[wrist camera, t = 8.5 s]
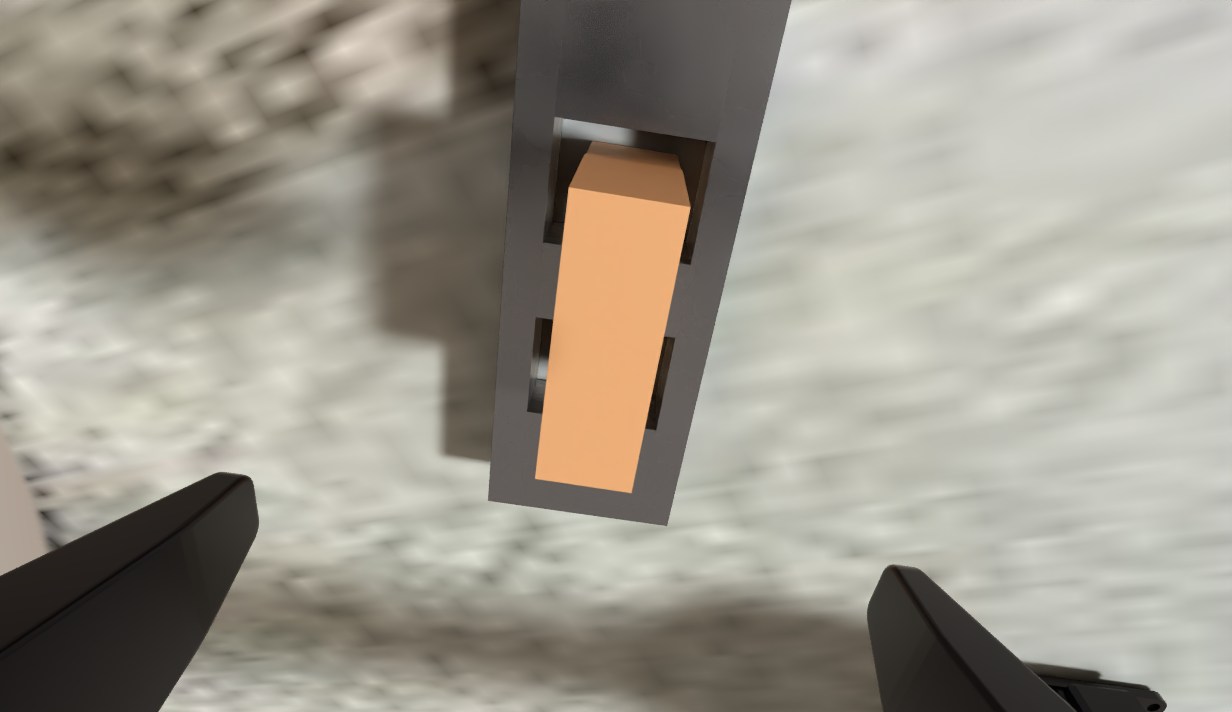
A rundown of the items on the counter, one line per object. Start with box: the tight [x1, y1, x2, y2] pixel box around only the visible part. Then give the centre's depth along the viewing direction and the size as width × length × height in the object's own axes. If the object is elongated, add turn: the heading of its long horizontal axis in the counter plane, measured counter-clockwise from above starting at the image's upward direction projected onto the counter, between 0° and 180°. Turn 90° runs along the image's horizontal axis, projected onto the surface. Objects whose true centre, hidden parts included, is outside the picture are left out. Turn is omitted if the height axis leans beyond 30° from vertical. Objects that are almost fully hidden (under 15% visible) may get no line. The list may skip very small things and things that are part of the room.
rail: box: [488, 0, 791, 526], centre depth 19 cm, size 16×6×2 cm, turn 172°
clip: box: [535, 141, 691, 493], centre depth 17 cm, size 7×2×6 cm, turn 171°
